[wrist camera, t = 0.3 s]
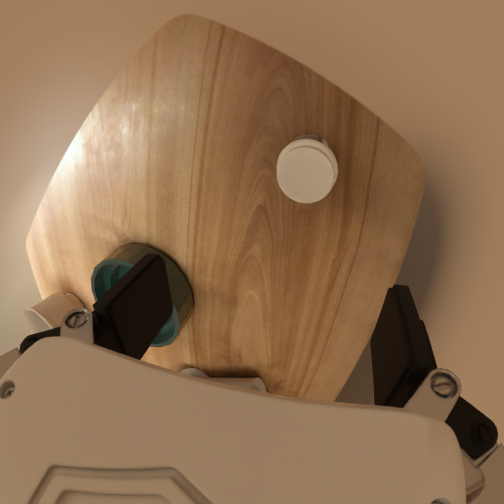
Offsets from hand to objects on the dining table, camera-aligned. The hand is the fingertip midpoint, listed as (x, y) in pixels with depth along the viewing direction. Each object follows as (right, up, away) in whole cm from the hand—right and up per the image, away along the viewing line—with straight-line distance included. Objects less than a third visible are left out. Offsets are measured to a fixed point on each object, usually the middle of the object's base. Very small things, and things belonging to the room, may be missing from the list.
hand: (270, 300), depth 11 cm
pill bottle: (+5, +11, +15) cm, 19 cm away
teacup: (-34, -9, +36) cm, 50 cm away
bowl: (-15, -3, +27) cm, 31 cm away
